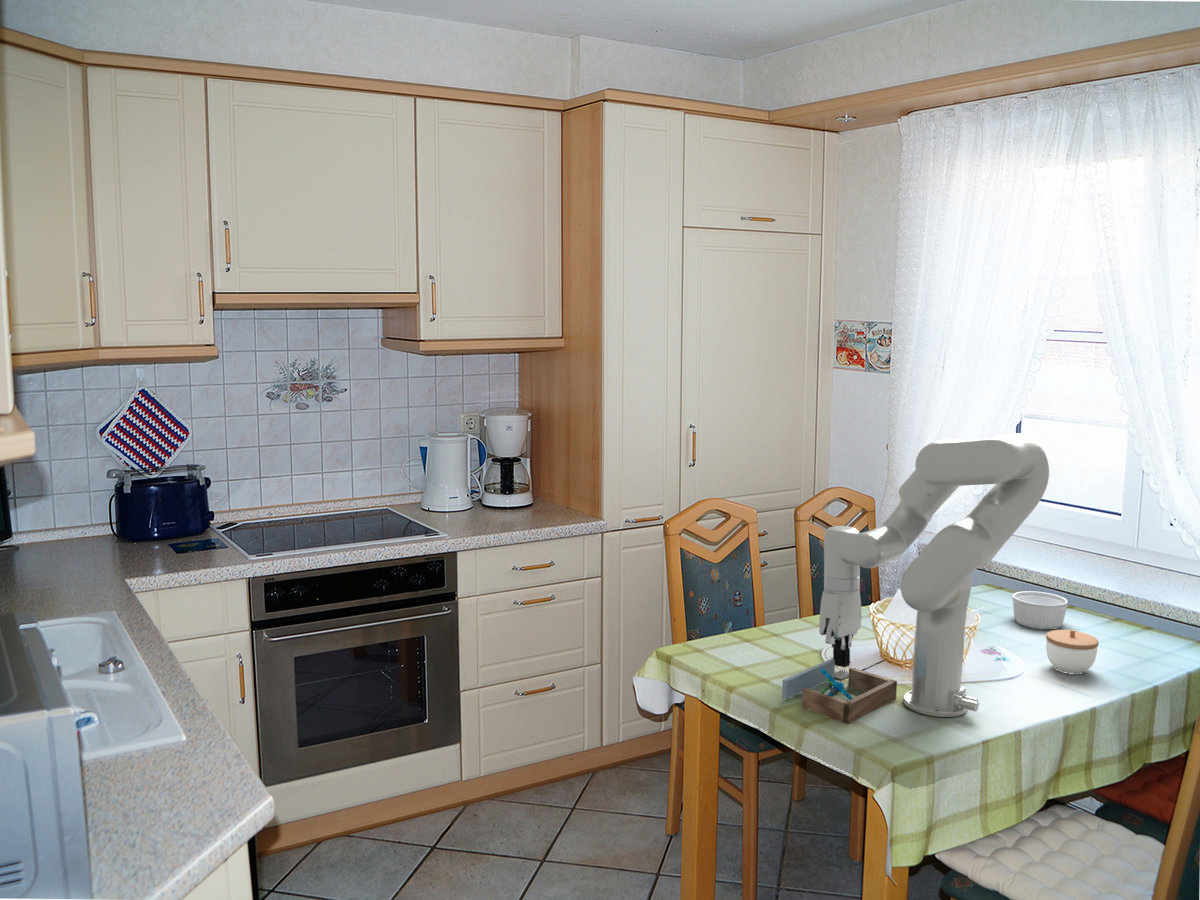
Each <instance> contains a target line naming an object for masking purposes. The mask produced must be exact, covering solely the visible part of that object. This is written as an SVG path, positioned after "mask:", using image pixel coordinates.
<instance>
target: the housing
mask: <svg viewBox="0 0 1200 900" xmlns="http://www.w3.org/2000/svg"><path fill="white" fill-rule="evenodd" d="M841 670H842V671H841ZM841 670H838V671H837V672H834V678H833V679H834V680H839V681H843V680H845V679H847V678H848V681H847V687H849V688H852V689H855V690H859V691H861V692H864V693H861V694H859V695H857V696H854V697H852V698H853V699H851V700H849V699H848V700H844V699H841V698H839V697H835V696H833V697H832V696H829V695H827V694H825V693H824V694H823V693H820V692H821V691H820V692H819V691H818V690H817V691H816V690H814V689H812V688H810V689H808V688H805V689H803V692H802V707H803V708H805V709H804V710H806V709H809V710H811V711H810V712H812V711H814V712H813V713H815V712H816V713H815V714H818V713H819V714H818V715H820V714H822V715H821V716H823V715H825V716H824V717H826V716H828V717H827V718H829V717H830V718H829V719H832V718H833V719H832V720H836V721H838V720H839V721H838V722H841V723H844V724H847V725H849V724H852V723H853V722H855V721H857V720H859V719H861V718H863V717H865V716H867V715H868V714H871V713H873V712H874V711H876V710H879V709H880V708H882V707H884V706H886V705H888V704H891V702H893V701H895V700H897V689H898V688H897V687H898V686H897V685H898V681H897V680H894V679H892V678H889V677H884V676H883V675H882V676H881V675H879V674H875V673H871V672H868V671H865V670H863V671H862V670H859V669H856V668H850V669H849V673H848V672H847V671H846V672H847V674H846V672H845V670H844V672H843V669H841ZM846 677H847V678H846ZM803 708H802V709H803ZM809 710H808V711H809Z"/></svg>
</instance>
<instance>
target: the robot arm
mask: <svg viewBox="0 0 1200 900" xmlns="http://www.w3.org/2000/svg"><path fill="white" fill-rule="evenodd" d="M914 466H915V469H914V471H913V472H912V473H911V474H910V475H909V476H908V478H907V479H906V480H905V481H904V482H903V483H902V484H901V486H900V487H899V489H898V496H899V499H900V501H899V503H898V505H897V507H896V508H895V510H894V511H893V512H892V513H891V514H890V515H889V516H888V518H887V519H886V520H885V521H884V522H883V524H881V525H880V526H879V527H876V528H872V529H870V530H868V531H864V532H860V531H859V530H858V529H856V528H855V527H854V526H853V527H852V526H849V525H848V526H847V525H836V526H835V525H833V526H830V527H828V528H826V530H825V531H824V533H823V535H824V536H823V537H824V538H823V539H824V540H823V543H824V544H823V547H824V548H823V550H824V551H823V569H824V570H823V571H824V572H823V577H824V578H823V591H822V595H821V600H820V610H819V622H818V623H819V625H818V626H819V629H818V630H819V635H821V636H825V641H824V642H825V644H829V645H831V648H832V650H833V651H832V657H833V660H835V666H838V667H840V668H847V667H849V666H851V648H852V644H853V643H852V642H853V638H854V637H855V636H856V635H857V633H858V631H859V630H860V629H861V627H862V601H861V593H860V589H861V588H860V585H861V584H860V580H861V578H860V576H861V572H860V571H861V570H860V567H861V568H865V569H874V568H877V567H880V566H881V565H884V564H887V563H889V562H891V561H893V560H896V559H898V558H899V557H901V556H902V555H903V554H904V553H905V552H906V551H907V550H908V549H909V548H910V547H911V546H912V544H914V542H916V541H917V539H918V538H919V537H920V535H922V533H923V532H924V531H925V529H926V528H927V527H928V525H929V524H930V522H931V520H932V518H933V516H934V515H935V514H936V513H937V511H938V510H939V509H940V507H942V506H943V505H944V503H946V501H947V500H948V499H949V498H950V497H951V496H952V495H953V493H955V491H957V489H958V488H959V487H960V486H961V487H962V486H963V487H964V486H979V485H980V486H981V485H982V486H983V485H994V486H993V487H992V488H991V489H989V491H988V492H986V494H985V495H984V496H983V497H982V498H981V500H980V501H979V502H978V504H977V505H976V506H975V507H974V508H973V509H972V510H971V512H969V513H968V514H967V515H966V516H965V517H964V518H962V519H960V520H958V521H956V522H954V523H951V524H949V525H947V526H945V527H944V528H942V529H941V530H940V531H938V533H937V534H935V535H934V536H933V538H932V539H931V540H930V541H929V542H928V544H926V546H925V547H924V549H923V550H921V551H920V553H919V554H918V555H917V557H916V558H915V559H913V562H911V564H910V565H909V566H908V567H907V569H906V570H904V571H905V572H904V573H903V575H902V576H901V581H900V594H901V597H902V599H903V600H904V602H905V604H906V605H907V606H908V607H910V608H912V609H913V610H914V611H916V617H915V618H916V619H915V629H914V630H915V631H914V644H913V645H914V646H913V663H912V678H911V679H912V680H911V690H909V691H907V692H905V693H904V695H903V699H902V701H903V703H904V705H905V706H906V707H907V708H908V709H910V710H911V711H914V712H916V713H919V714H922V715H927V716H929V717H930V716H931V717H937V718H953V717H955V718H956V717H959V716H962V715H965V713H967V711H968V710H969V711H972V712H975V713H976V712H978V710H979V700H978V698H977V697H973V696H968V695H967V694H966V693H967V692H966V690H967V688H966V687H965V686H962V677H963V661H964V648H965V647H964V645H965V635H966V621H967V620H966V619H967V611H968V606H969V601H970V598H971V597H970V596H971V592H972V591H971V590H972V575H971V574H972V573H973V572H974V571H976V570H977V569H979V568H981V567H983V566H985V565H987V564H988V563H989V562H991V561H992V560H993V559H994V558H995V556H997V554H998V553H999V551H1000V550H1001V549H1002V548H1003V546H1004V545H1005V544H1006V543H1007V542H1008V541H1009V540H1010V539H1011V537H1012V536H1013V535H1014V534H1015V533H1016V531H1018V529H1020V527H1021V525H1022V524H1023V523H1024V522H1025V521H1026V519H1027V518H1028V517H1029V516H1030V514H1031V513H1033V511H1034V510H1035V508H1036V507H1037V506H1038V504H1039V503H1040V501H1041V500H1042V498H1043V497H1044V494H1045V492H1046V490H1047V487H1048V485H1049V477H1050V466H1049V460H1048V457H1047V455H1046V452H1045V450H1044V449H1043V447H1042V445H1041V444H1040V443H1039V442H1038V441H1037V440H1036V439H1035V438H1033V437H1032V436H1030V435H1028V434H1024V433H1007V434H1004V435H999V436H996V437H992V438H991V437H990V438H986V439H983V438H982V439H973V440H962V439H958V438H946V439H942V440H937V441H933V442H930V443H928V444H927V445H925V446H924V447H922V449H920V451H919V452H918V454H917V456H916V459H915V465H914Z"/></svg>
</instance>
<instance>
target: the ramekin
mask: <svg viewBox="0 0 1200 900" xmlns="http://www.w3.org/2000/svg"><path fill="white" fill-rule="evenodd" d="M1011 600H1012V602H1013V604H1012V605H1013V616H1014V617H1013V618H1014V620H1015V621H1016V623H1017V624H1019V625H1020V626H1023V625H1024V626H1023V627H1026V626H1027V628H1029V627H1031V628H1030V629H1034V628H1036V630H1044V629H1051V630H1056V629H1055V628H1057V629H1059V628H1060V627H1062V626H1063V623H1064V621H1065V617H1066V611H1067V607H1068V604H1069V602H1068V599H1067V598H1066V597H1063V596H1060V595H1057V594H1055V593H1049V592H1044V591H1043V592H1042V591H1034V590H1033V591H1032V590H1031V591H1030V590H1028V591H1025V590H1024V591H1017V592H1015V593H1013V594H1012V599H1011Z"/></svg>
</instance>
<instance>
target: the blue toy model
mask: <svg viewBox="0 0 1200 900" xmlns="http://www.w3.org/2000/svg"><path fill="white" fill-rule="evenodd" d="M820 671H821V672H822V673H823V674H824V675H825V676H826V677H827V679H826V680H827V681H826V683H824V686H825V687H824V688H823V689H822V690H821V691H820V693H823V694H825V693H827V691H829V692H828V693H827V694H826V695H829V696H832V697H835V696H837V695H838V694H839V693H842V694H843V696H844V697H846V698H847V699H848V701H849V700H851V699H853V698H854V697H852V695H851V694H849V693H848V691H846V689H845V687H844V686H845V684H844V683H843V682H842V680H839V681H836V679H835V678H832V677H831V676H830V675H829V674H828V673H827V672H826V671H825V670H824V669H823V668H821V669H820Z"/></svg>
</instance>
